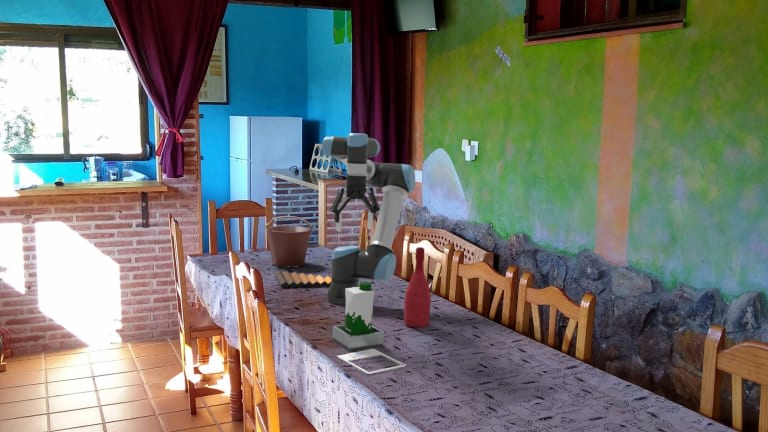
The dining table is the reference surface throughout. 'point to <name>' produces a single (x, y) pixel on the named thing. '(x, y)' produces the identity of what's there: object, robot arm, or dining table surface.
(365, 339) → the collar
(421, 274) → the wine bottle
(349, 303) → the soya milk
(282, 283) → the pan flute
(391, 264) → the robot arm
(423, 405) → the dining table surface
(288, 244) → the bucket
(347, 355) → the photo frame
